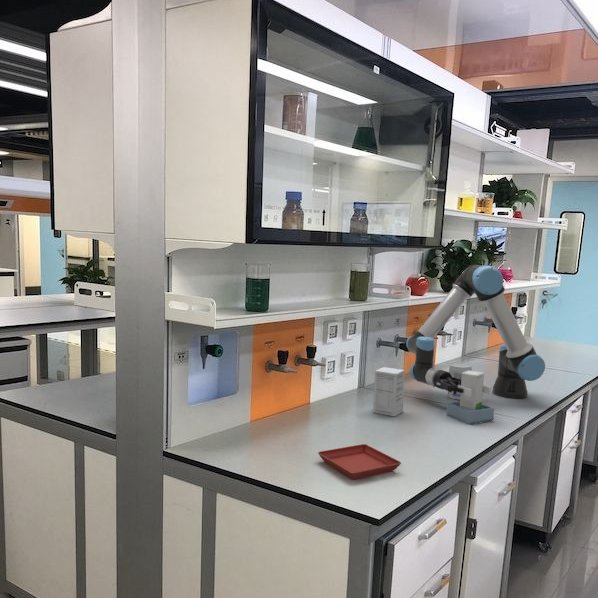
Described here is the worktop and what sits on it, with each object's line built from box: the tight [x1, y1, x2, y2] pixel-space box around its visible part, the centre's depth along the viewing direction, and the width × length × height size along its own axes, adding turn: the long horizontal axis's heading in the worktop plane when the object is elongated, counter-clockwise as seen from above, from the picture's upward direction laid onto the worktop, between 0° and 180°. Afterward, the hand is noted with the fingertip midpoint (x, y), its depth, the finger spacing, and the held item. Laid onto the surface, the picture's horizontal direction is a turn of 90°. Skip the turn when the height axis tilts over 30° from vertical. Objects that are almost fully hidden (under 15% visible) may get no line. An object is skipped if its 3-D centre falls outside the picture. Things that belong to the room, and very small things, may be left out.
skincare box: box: [459, 370, 485, 411], centre depth 225 cm, size 8×7×16 cm
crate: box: [446, 400, 495, 425], centre depth 225 cm, size 12×12×5 cm
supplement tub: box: [447, 362, 473, 401], centre depth 255 cm, size 10×10×15 cm
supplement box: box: [372, 366, 406, 417], centre depth 228 cm, size 10×9×17 cm
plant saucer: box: [317, 443, 402, 480], centre depth 171 cm, size 18×18×3 cm
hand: (480, 391), depth 221 cm, fingers closed on skincare box, 9 cm apart
